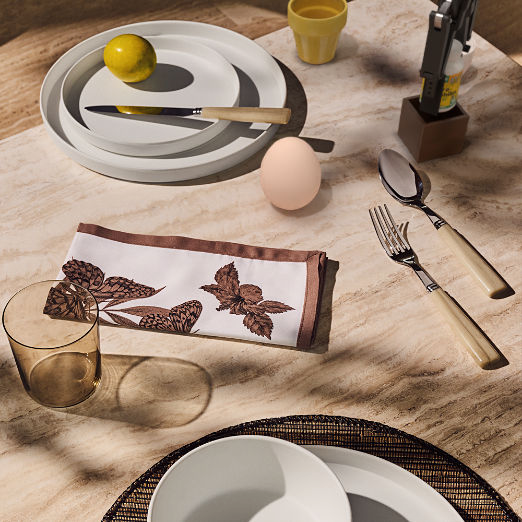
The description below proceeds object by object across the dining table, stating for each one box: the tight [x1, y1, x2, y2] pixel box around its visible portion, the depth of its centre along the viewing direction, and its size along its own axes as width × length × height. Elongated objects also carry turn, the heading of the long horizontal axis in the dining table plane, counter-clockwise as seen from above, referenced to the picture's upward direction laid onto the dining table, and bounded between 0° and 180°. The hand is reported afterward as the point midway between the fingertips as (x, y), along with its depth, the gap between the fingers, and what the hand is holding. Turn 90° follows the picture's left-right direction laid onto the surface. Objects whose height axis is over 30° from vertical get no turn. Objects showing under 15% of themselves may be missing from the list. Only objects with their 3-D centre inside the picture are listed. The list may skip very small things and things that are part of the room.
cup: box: [462, 36, 477, 76], centre depth 116 cm, size 8×10×7 cm
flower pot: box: [287, 0, 349, 65], centre depth 121 cm, size 10×10×10 cm
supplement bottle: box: [420, 39, 464, 112], centre depth 98 cm, size 5×5×10 cm
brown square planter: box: [397, 94, 471, 164], centre depth 105 cm, size 7×7×7 cm
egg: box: [259, 136, 322, 211], centre depth 96 cm, size 9×9×12 cm
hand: (437, 100), depth 101 cm, fingers closed on supplement bottle, 5 cm apart
